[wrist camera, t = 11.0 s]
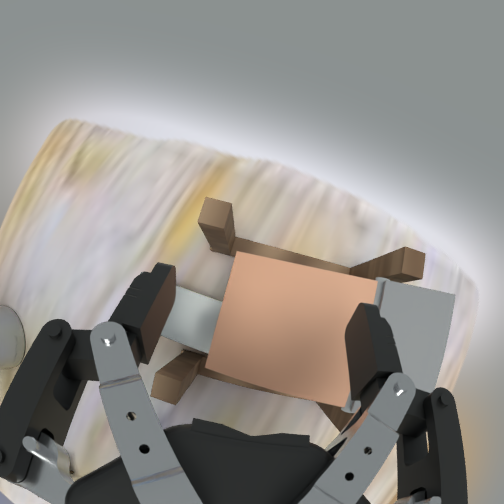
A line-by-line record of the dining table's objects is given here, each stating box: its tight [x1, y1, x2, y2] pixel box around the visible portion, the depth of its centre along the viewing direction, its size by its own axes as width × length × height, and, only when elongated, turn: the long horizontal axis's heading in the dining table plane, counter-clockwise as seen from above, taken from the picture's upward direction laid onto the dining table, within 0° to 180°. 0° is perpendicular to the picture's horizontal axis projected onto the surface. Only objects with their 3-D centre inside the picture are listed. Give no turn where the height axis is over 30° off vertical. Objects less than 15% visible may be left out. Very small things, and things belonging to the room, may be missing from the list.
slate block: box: [141, 272, 222, 354], centre depth 28 cm, size 5×5×10 cm
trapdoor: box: [205, 251, 455, 413], centre depth 20 cm, size 18×11×3 cm, turn 75°
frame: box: [151, 197, 425, 432], centre depth 24 cm, size 18×15×13 cm
